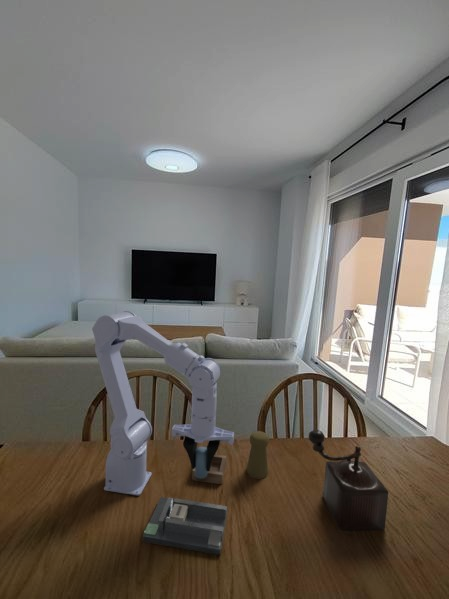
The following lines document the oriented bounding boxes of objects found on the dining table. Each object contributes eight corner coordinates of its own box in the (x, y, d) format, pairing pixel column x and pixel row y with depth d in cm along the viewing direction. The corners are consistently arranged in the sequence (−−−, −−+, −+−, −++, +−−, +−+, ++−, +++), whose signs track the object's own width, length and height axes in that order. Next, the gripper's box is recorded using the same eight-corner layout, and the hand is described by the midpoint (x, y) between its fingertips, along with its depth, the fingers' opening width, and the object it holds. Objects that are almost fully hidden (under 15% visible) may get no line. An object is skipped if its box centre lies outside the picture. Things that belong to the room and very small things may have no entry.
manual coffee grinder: (359, 493, 76) (366, 426, 74) (386, 530, 65) (394, 454, 63) (301, 493, 75) (306, 426, 73) (317, 532, 64) (324, 454, 62)
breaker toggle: (169, 523, 62) (169, 515, 62) (174, 510, 66) (174, 503, 66) (183, 525, 62) (183, 517, 62) (187, 512, 65) (187, 505, 65)
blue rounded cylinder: (193, 477, 69) (194, 453, 68) (196, 469, 72) (197, 445, 71) (206, 479, 68) (207, 455, 68) (208, 470, 71) (209, 447, 71)
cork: (267, 480, 79) (270, 441, 78) (245, 476, 80) (247, 438, 79) (268, 466, 85) (271, 429, 84) (247, 462, 86) (249, 426, 85)
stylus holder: (192, 480, 78) (192, 470, 77) (198, 460, 86) (199, 452, 85) (221, 484, 77) (222, 474, 76) (226, 464, 85) (226, 455, 84)
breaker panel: (142, 541, 60) (142, 527, 59) (160, 501, 70) (161, 489, 70) (220, 555, 58) (221, 540, 57) (227, 512, 68) (227, 499, 68)
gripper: (167, 417, 65) (166, 474, 67) (232, 425, 63) (229, 483, 65) (177, 403, 72) (175, 454, 74) (236, 410, 70) (233, 463, 72)
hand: (201, 467), depth 70 cm, fingers closed on blue rounded cylinder, 3 cm apart
